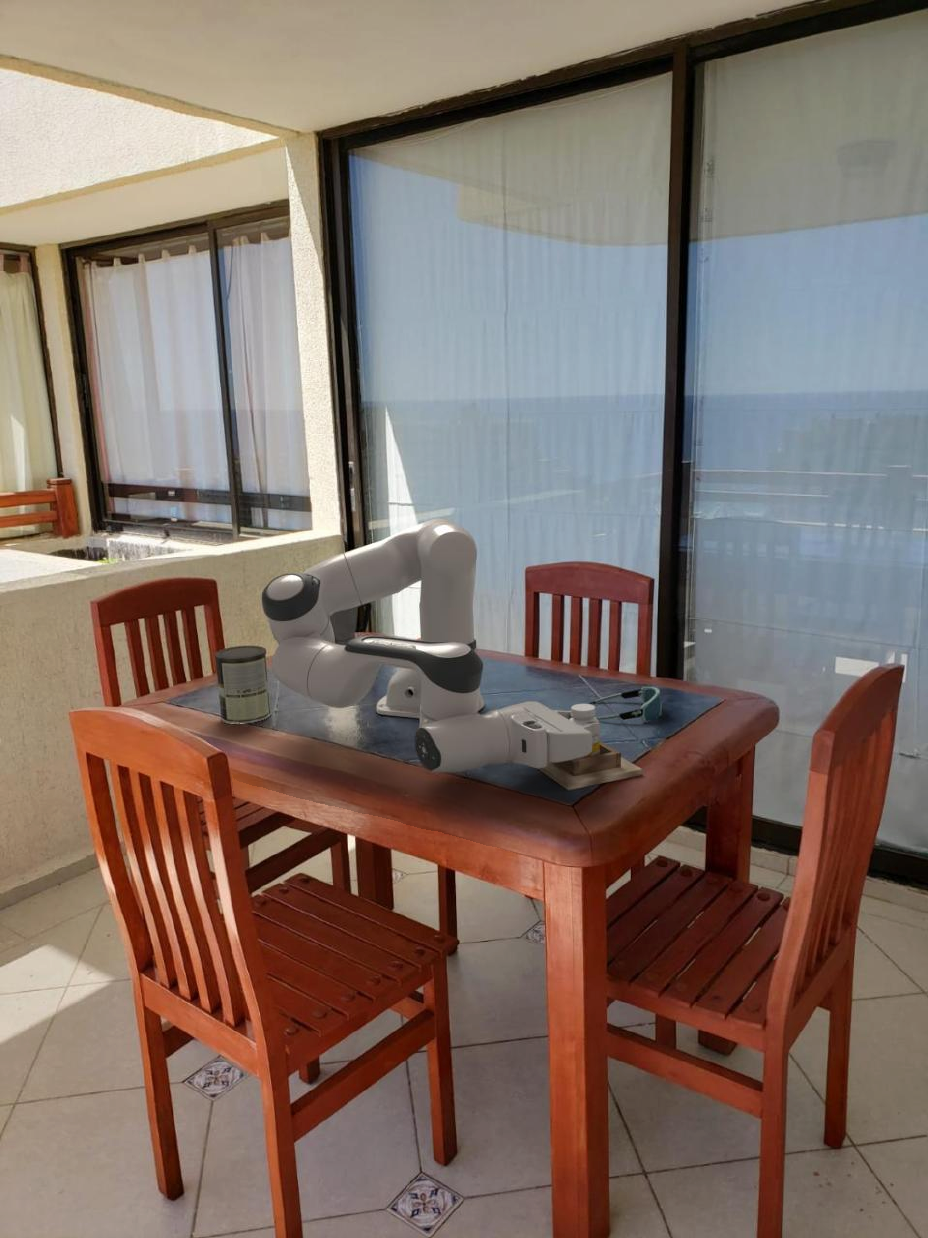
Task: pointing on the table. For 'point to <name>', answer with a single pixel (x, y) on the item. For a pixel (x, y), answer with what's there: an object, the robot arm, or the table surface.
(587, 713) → the supplement bottle
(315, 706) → the table surface
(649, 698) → the sunglasses
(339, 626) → the coffeepot
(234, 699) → the coffee can
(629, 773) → the collar board
